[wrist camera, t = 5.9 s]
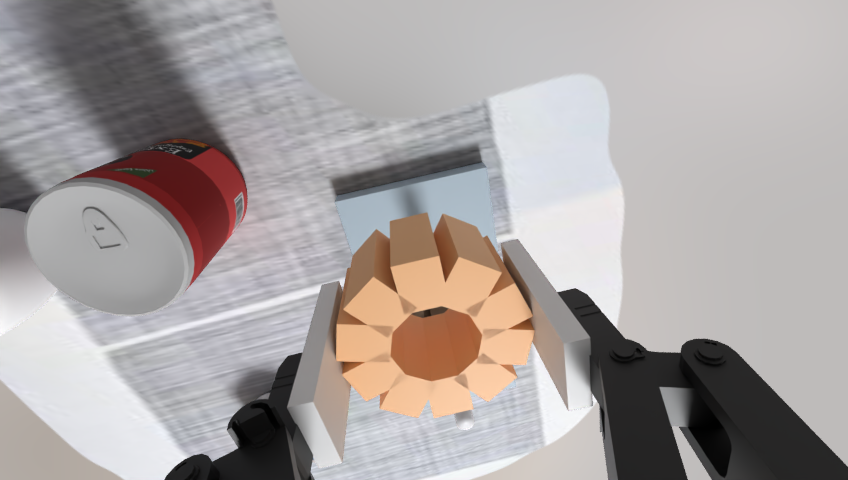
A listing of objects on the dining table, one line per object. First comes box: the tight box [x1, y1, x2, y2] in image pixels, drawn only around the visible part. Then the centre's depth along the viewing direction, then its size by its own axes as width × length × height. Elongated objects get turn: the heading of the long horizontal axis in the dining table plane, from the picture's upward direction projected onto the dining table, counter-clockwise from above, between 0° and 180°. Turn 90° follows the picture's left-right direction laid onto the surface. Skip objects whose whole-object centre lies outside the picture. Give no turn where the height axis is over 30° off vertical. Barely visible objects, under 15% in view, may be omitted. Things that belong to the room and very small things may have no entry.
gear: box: [336, 212, 535, 418], centre depth 16 cm, size 7×7×4 cm
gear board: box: [335, 162, 516, 430], centre depth 33 cm, size 24×12×8 cm, turn 12°
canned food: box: [24, 139, 247, 316], centre depth 25 cm, size 8×8×11 cm
